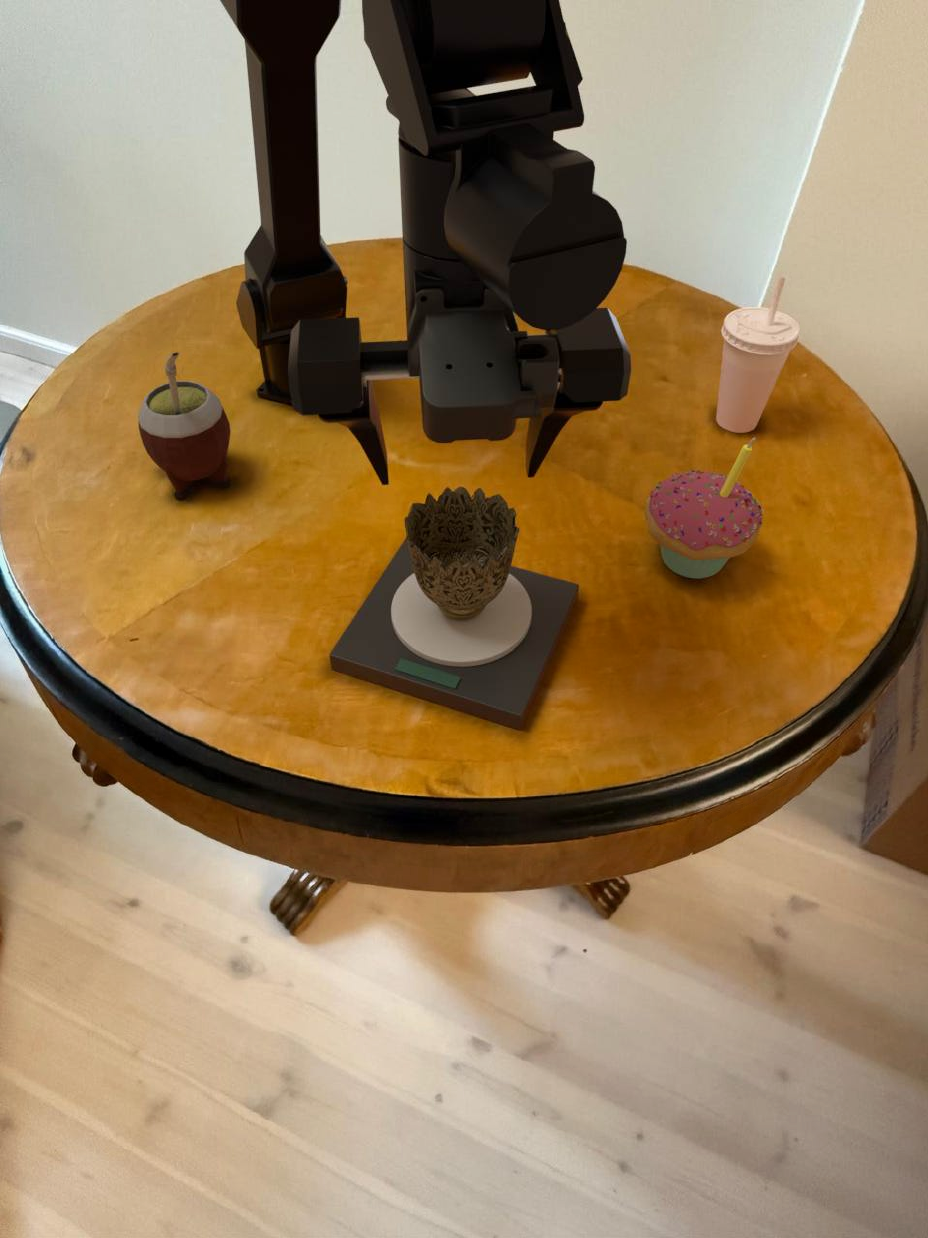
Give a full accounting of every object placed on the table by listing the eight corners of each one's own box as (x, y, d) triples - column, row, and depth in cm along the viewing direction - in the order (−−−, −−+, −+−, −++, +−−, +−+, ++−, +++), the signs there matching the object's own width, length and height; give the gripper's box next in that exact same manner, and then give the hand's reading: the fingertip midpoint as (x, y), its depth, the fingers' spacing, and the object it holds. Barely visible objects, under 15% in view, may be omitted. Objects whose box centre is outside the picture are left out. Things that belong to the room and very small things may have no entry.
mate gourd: (186, 446, 80) (142, 286, 69) (263, 465, 78) (231, 304, 67) (136, 496, 75) (81, 333, 64) (217, 518, 73) (175, 354, 62)
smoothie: (772, 445, 80) (818, 298, 70) (700, 436, 81) (734, 290, 71) (770, 405, 85) (813, 261, 74) (701, 397, 85) (734, 254, 75)
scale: (331, 669, 63) (327, 649, 61) (407, 551, 71) (406, 530, 69) (520, 730, 59) (522, 710, 58) (577, 599, 67) (580, 578, 66)
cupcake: (752, 536, 72) (793, 410, 63) (739, 609, 67) (781, 481, 58) (647, 513, 74) (672, 387, 65) (625, 582, 69) (650, 454, 60)
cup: (407, 572, 66) (402, 487, 60) (506, 566, 66) (511, 481, 61) (412, 648, 61) (406, 563, 55) (519, 642, 61) (525, 557, 56)
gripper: (263, 324, 39) (306, 575, 51) (678, 308, 41) (629, 556, 52) (276, 213, 47) (311, 454, 58) (627, 202, 48) (593, 440, 60)
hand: (457, 477), depth 57 cm, fingers open, 9 cm apart
